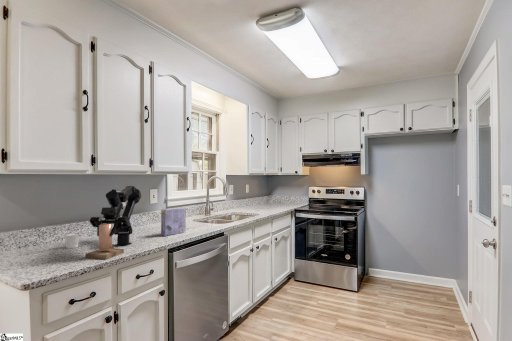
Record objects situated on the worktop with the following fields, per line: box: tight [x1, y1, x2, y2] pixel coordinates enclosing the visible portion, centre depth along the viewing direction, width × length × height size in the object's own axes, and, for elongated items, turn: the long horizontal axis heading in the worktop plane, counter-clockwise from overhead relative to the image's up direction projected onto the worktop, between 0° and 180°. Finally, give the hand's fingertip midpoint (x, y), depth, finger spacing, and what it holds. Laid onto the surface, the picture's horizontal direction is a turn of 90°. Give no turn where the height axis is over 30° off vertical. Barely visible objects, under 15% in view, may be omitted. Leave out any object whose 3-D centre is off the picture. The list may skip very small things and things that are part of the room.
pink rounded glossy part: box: [98, 224, 113, 250], centre depth 144 cm, size 6×6×12 cm
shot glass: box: [64, 233, 80, 249], centre depth 161 cm, size 7×7×7 cm
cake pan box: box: [160, 207, 187, 237], centre depth 199 cm, size 19×5×18 cm, turn 146°
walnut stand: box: [85, 247, 125, 260], centre depth 144 cm, size 12×12×2 cm
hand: (104, 235), depth 143 cm, fingers closed on pink rounded glossy part, 6 cm apart
